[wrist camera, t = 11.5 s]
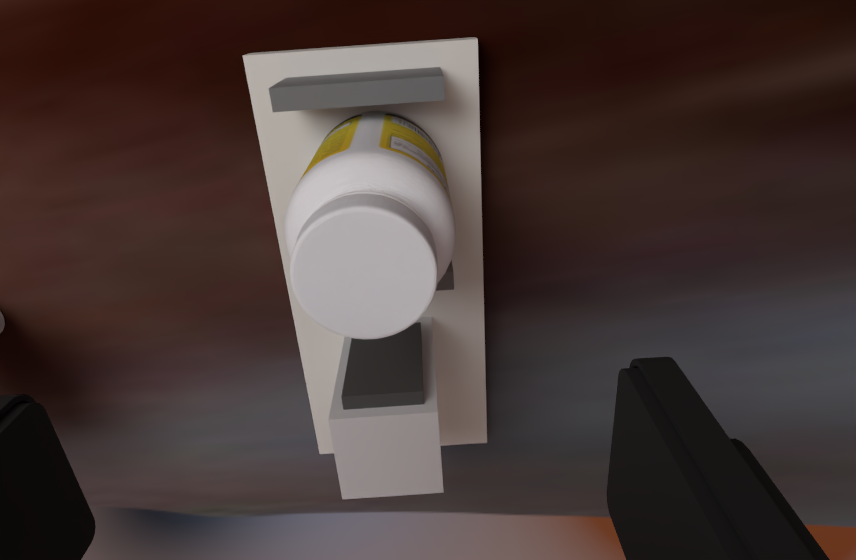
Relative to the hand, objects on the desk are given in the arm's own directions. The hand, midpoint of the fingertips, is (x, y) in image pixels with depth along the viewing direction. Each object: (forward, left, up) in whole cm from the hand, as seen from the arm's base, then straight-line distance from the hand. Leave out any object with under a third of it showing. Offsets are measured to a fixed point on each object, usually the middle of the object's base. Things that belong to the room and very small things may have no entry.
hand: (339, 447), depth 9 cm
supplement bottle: (0, 0, -16) cm, 16 cm away
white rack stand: (0, +5, -17) cm, 18 cm away
